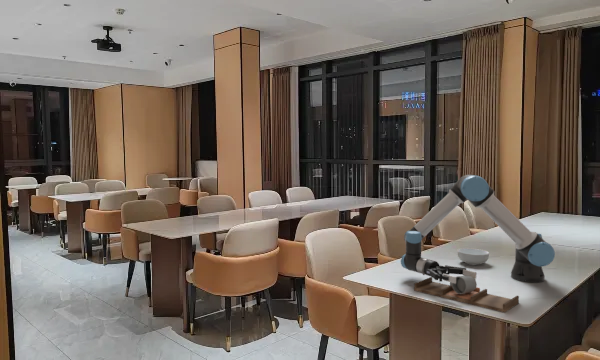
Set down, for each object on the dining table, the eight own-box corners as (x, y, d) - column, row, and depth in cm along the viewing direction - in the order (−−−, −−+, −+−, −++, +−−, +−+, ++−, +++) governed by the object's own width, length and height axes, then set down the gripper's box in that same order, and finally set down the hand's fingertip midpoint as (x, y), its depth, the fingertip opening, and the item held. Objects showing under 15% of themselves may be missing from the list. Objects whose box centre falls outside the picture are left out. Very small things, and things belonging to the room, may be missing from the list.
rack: (519, 303, 190) (519, 295, 190) (504, 312, 179) (505, 304, 179) (431, 283, 219) (431, 276, 219) (414, 290, 208) (414, 283, 208)
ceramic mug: (476, 294, 198) (479, 278, 196) (463, 297, 194) (467, 281, 192) (456, 283, 207) (460, 268, 205) (444, 286, 203) (448, 270, 201)
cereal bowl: (467, 267, 248) (468, 255, 247) (451, 260, 264) (451, 248, 264) (495, 266, 251) (495, 253, 251) (477, 259, 267) (477, 247, 267)
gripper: (445, 271, 222) (483, 281, 204) (409, 279, 209) (446, 291, 191) (446, 256, 222) (483, 265, 204) (409, 263, 208) (446, 273, 191)
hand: (465, 278), depth 197 cm, fingers open, 13 cm apart
